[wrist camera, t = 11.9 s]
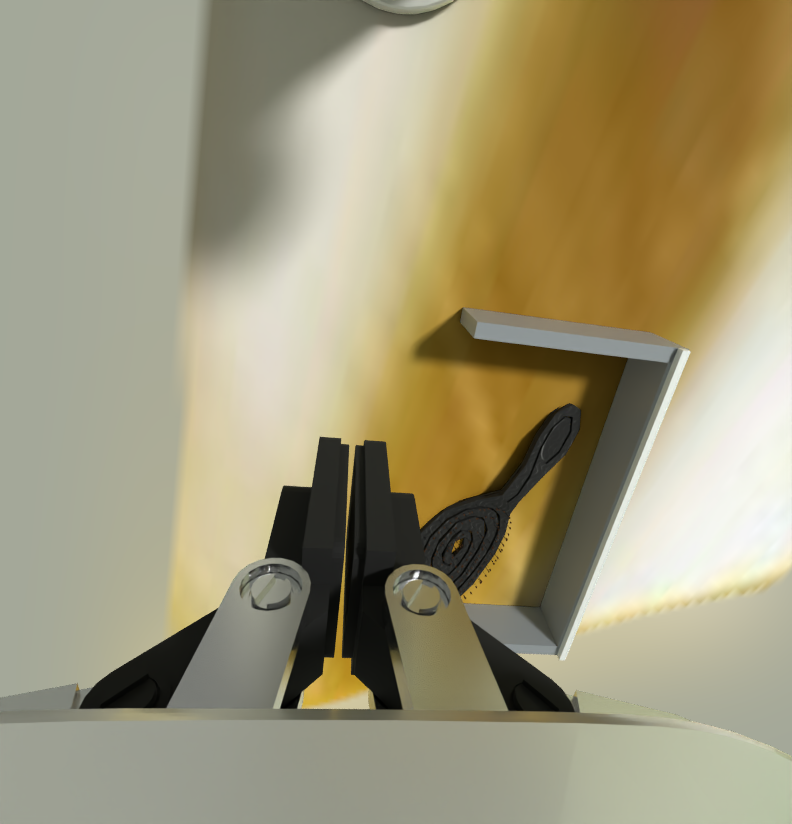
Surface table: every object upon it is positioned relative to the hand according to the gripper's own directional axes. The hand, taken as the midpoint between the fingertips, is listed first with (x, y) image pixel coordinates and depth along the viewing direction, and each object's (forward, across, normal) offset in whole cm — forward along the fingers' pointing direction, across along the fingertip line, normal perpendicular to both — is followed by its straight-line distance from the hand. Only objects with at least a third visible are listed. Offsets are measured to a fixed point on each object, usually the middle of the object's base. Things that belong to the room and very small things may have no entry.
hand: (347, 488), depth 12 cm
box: (+26, -16, +17) cm, 36 cm away
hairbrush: (+27, -15, +20) cm, 36 cm away
